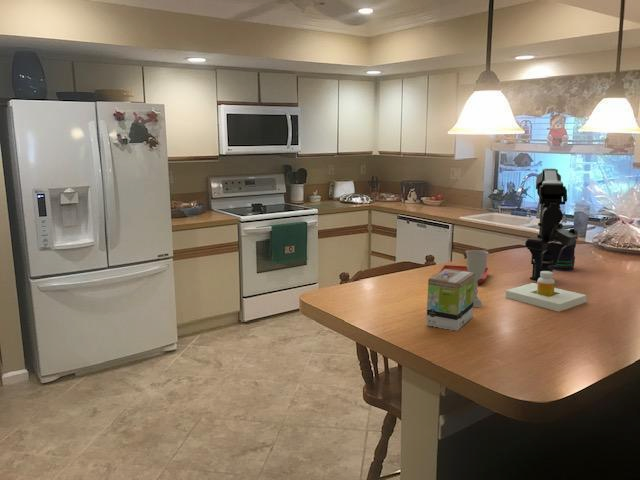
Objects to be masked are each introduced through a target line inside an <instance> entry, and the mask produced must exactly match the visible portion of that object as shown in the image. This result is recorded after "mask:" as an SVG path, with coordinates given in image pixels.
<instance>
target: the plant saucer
mask: <svg viewBox="0 0 640 480" xmlns="http://www.w3.org/2000/svg"><path fill="white" fill-rule="evenodd" d="M489 268H490V267H487V266H486V269H485V272H484V273H483V275H482V277H481V279H479V280H478V281H477V284H478V285H481V284H482V283H483V282H484V281H485V280H486V277H487V275H488V272H489ZM444 269H450V270H458V271H466V272H468V269H467V265H451V264H444V265H442V267H441V269H440V270H439V271H438V273H439V272H441V271H443V270H444Z"/></svg>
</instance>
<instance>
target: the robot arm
mask: <svg viewBox="0 0 640 480" xmlns="http://www.w3.org/2000/svg"><path fill="white" fill-rule="evenodd" d="M535 190H537V191H536V192H537V196H538V197H539V204H540V214H539V222H538V224H537V227H538V228H539V229H538V230H539V231H538V234H537V236H536V237H531V238H527V239H525V242H524V247H525V248H527V250H529V252H530V254H531V255H530V265H532V273H531V274H532V276H530V277H529V279H530V280H534V281H538V278H540V277H541V276H540V272H541V271H550V272H553V271H554V270H553V269H552V265H553V266H555V265H556V264H557V262H558V259H559V257H560V255H561V252H562V250H563V249H564V248H565V247H566V246H568V245H573V243H574V241H575V240H576V241H577V240H578V239H579V237H578V236H579V235H578V234H579V233H578V229H575V228H571V229H564V225H563V223H562V220H563V217H564V215H563V212H562V210H561V208H562V207H561V206H563V205H566V203H567V202H568V189H567V187H566V185H564V182H563V181H562V175H561V174H560V173H559V172H558V169H557V168H543V169H542V172H540V173H539V174H537V175H536V178H535ZM553 273H554V272H553ZM552 278H553V279H554V277H552ZM554 280H555V279H554Z"/></svg>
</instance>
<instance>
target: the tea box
mask: <svg viewBox="0 0 640 480" xmlns="http://www.w3.org/2000/svg"><path fill="white" fill-rule="evenodd" d="M427 283H428V284H427V298H426V299H427V301H426V302H427V303H426V321H425V325H426V326H429V327H432V326H433V327H432V328H436V327H438V329H442V328H443V330H447V329H449V331H453V330H455V331H454V332H458V331H459V329H461V328H462V327H463V326H465V324H466V323H468V321H470V320H471V319H472V318H473V315H474V307H473V302H474V284H475V273H473V272H466V271H458V270H450V269H444V270H443V271H441V272H439V271H438V272H437V273H436V274H434V275H432V276H431V277H429V278H428V281H427Z"/></svg>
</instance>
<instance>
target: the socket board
mask: <svg viewBox="0 0 640 480" xmlns="http://www.w3.org/2000/svg"><path fill="white" fill-rule="evenodd" d="M504 297H505V298H506V299H510V300H514V301H517V302H522V303H525V304H529V305H532V306H537V307H538V308H539V307H541V308H543V309H548V310H552V311H555V312H557V313H558V312H559V313H560V312H563V311H566V310H568V309H570V308H571V309H572V308H573V307H577V306H579V305H583V304H586V302H587V294H583V293H579V292H574V291H570V290H566V289H562V288H557V287H554V296H550V297H547V296H543V295H539V294H537V283H535V282H531V283H527V284H524V285H523V284H522V285H519V286H517V287H513V288H509V289H506V290H505V296H504Z"/></svg>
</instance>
